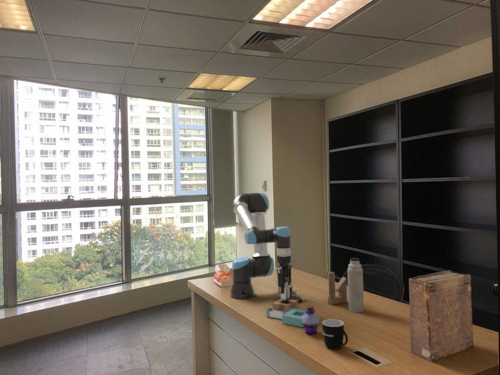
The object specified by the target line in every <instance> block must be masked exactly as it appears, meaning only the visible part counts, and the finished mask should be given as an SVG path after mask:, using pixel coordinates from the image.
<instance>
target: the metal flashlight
mask: <svg viewBox="0 0 500 375" xmlns="http://www.w3.org/2000/svg"><path fill="white" fill-rule="evenodd" d="M288 281H289V277H286V276H285V287H286V300H284V299H282V303H285V304H288V303H289V300H290V298H289V293H288Z"/></svg>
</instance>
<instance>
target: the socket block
mask: <svg viewBox="0 0 500 375" xmlns="http://www.w3.org/2000/svg"><path fill="white" fill-rule="evenodd" d="M304 315H307V313H306V310H304V309H299V308H298V309H294V308H293V309H291V310H290V311H288V312H287V313H285V314H284V315H282V319H281V321H282V322H281V323H282V324H283V325H289V326H293V327H294V326H295V327H300V328H304V327H303V326H304V325H303V326H302V322H303V321H302V316H304ZM313 315H315V313H313Z"/></svg>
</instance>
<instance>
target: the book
mask: <svg viewBox="0 0 500 375" xmlns="http://www.w3.org/2000/svg"><path fill="white" fill-rule="evenodd" d="M408 292H409V293H408V294H409V320H410V321H409V322H410V323H409V325H410V327H409V328H410V350H411V351H410V352H411V354H414V355H416V356H418V357H420V358H422V359H424V358H425V360H426V359H427V361H429V362H431V361H432V362H434V361H433V360H435V361H437V360H436V359H438V360H441V359H443V357H444V358H446V356H447V357H449V355H450V356H452V354H453V355H456V354H459V353H462V352H465V351H467V349H468V350H470V348H471V349H473V348H474V331H473V330H474V328H473V326H474V325H473V305H472V276H471V274H461V273H455V272H452V271H451V269H450V270H445V271H438V272H434V273H430V274H425V275H418V276H414V277H410V278H408ZM461 351H462V352H461ZM458 352H459V353H458ZM455 353H456V354H455ZM440 358H441V359H440Z"/></svg>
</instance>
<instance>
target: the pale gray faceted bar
mask: <svg viewBox="0 0 500 375" xmlns="http://www.w3.org/2000/svg"><path fill="white" fill-rule="evenodd" d="M265 311H266V313H265V314H266V318H273V319H278V320H282V315H284V314H285V313H286V312H283V311H278V310H273V307H268V308H267V309H266V310H265Z"/></svg>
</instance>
